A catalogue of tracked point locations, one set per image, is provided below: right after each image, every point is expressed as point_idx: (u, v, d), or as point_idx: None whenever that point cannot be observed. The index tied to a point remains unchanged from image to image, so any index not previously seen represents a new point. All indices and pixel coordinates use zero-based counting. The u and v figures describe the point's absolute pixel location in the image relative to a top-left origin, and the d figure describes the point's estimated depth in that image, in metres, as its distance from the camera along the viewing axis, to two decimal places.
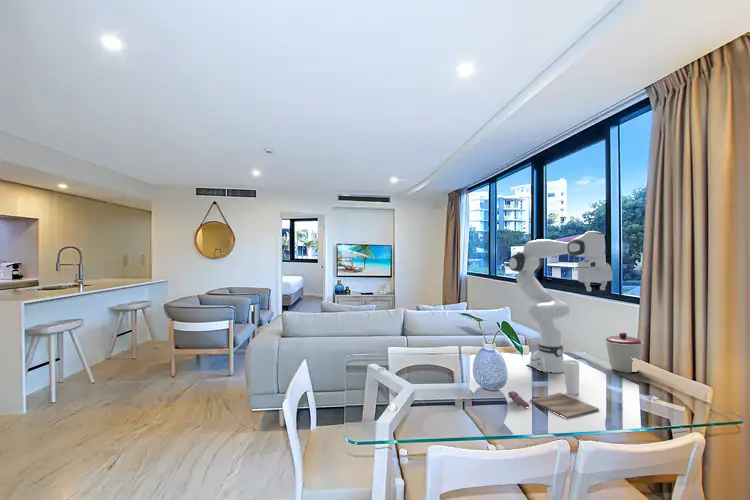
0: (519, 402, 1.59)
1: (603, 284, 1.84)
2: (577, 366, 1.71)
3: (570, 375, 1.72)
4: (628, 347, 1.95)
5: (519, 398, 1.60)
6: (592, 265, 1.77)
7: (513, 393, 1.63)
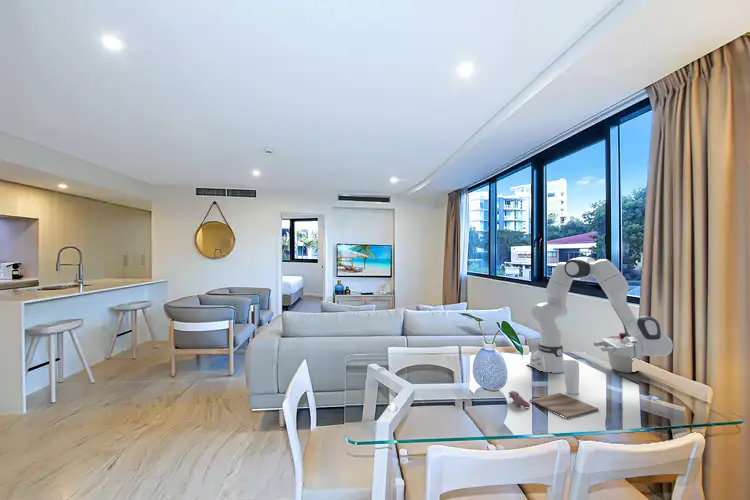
0: (520, 402, 1.59)
1: (600, 344, 1.76)
2: (577, 366, 1.71)
3: (570, 375, 1.72)
4: None
5: (520, 398, 1.60)
6: None
7: (514, 393, 1.63)
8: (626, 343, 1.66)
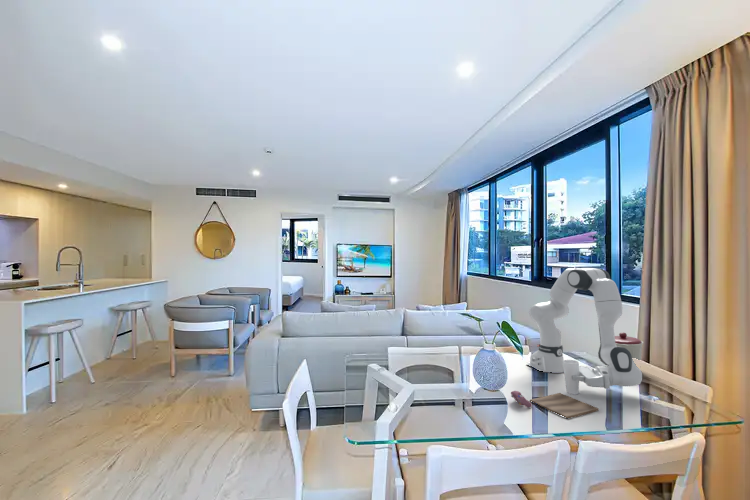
0: (522, 402, 1.59)
1: None
2: (577, 366, 1.71)
3: (570, 375, 1.72)
4: (628, 347, 1.95)
5: (522, 398, 1.60)
6: None
7: (516, 393, 1.63)
8: (596, 373, 1.68)
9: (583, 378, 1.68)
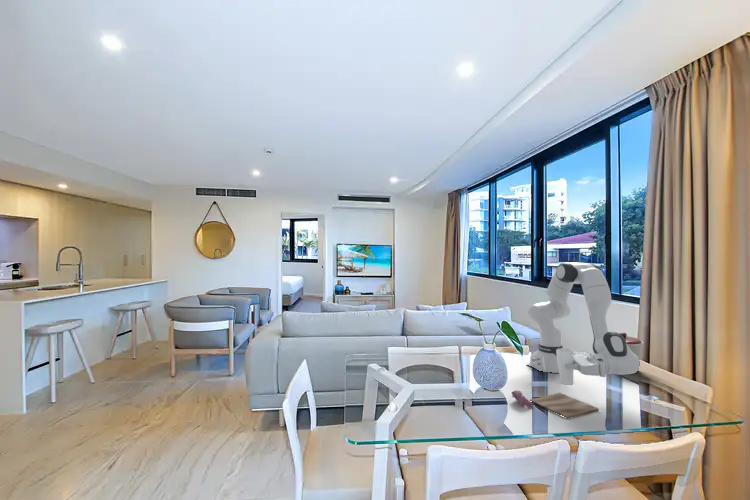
0: (523, 401, 1.59)
1: None
2: (571, 354, 1.61)
3: (564, 365, 1.61)
4: None
5: (523, 397, 1.60)
6: None
7: (517, 392, 1.63)
8: (592, 361, 1.58)
9: (577, 366, 1.58)
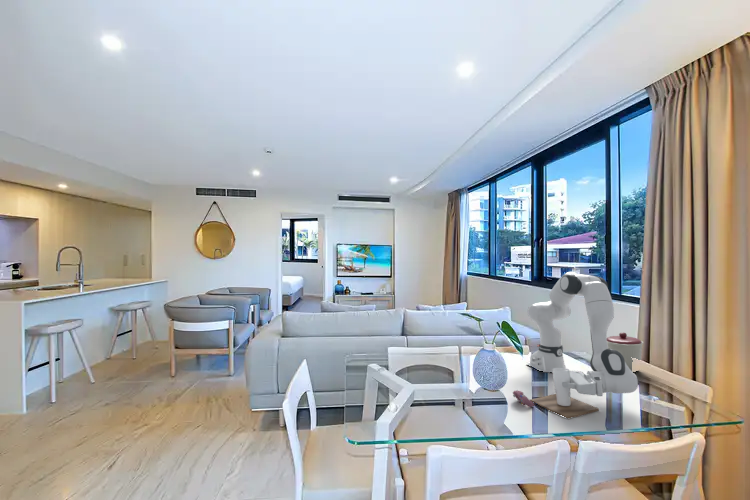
0: (524, 401, 1.60)
1: None
2: (568, 374, 1.57)
3: (561, 385, 1.57)
4: (628, 347, 1.95)
5: (524, 397, 1.60)
6: None
7: (518, 392, 1.64)
8: (588, 379, 1.54)
9: (574, 385, 1.53)
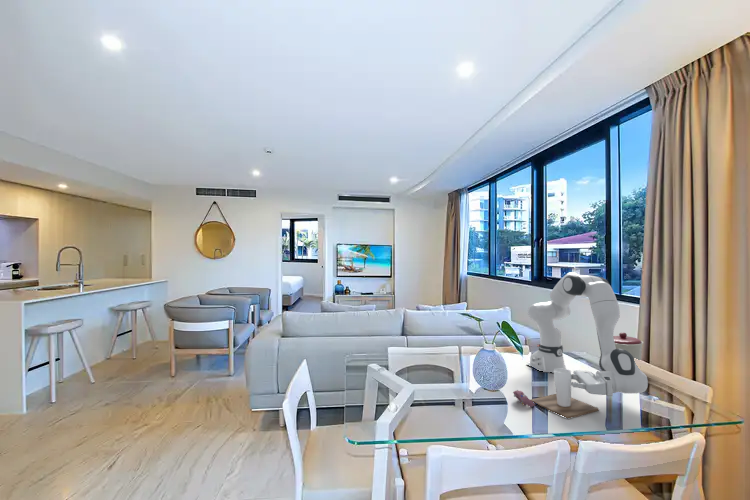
0: (525, 401, 1.60)
1: (571, 377, 1.64)
2: (569, 376, 1.56)
3: (562, 386, 1.56)
4: (628, 347, 1.95)
5: (525, 397, 1.60)
6: None
7: (519, 392, 1.64)
8: (598, 379, 1.54)
9: (584, 385, 1.52)
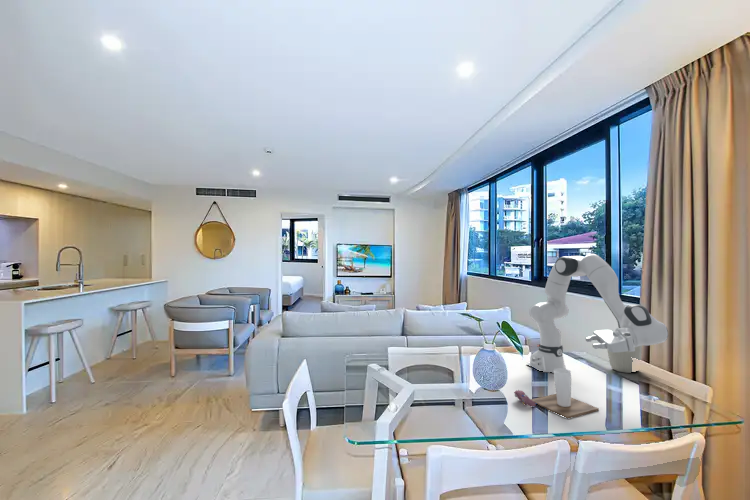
0: (526, 401, 1.60)
1: (592, 338, 1.65)
2: (569, 376, 1.56)
3: (562, 386, 1.56)
4: None
5: (526, 397, 1.60)
6: None
7: (520, 392, 1.64)
8: (618, 336, 1.55)
9: (605, 345, 1.54)
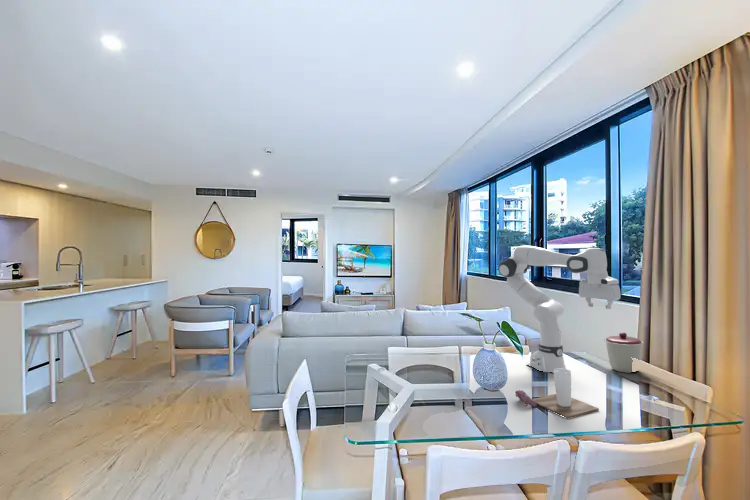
0: (527, 401, 1.60)
1: (589, 300, 1.86)
2: (569, 376, 1.56)
3: (562, 386, 1.56)
4: (628, 347, 1.95)
5: (527, 397, 1.61)
6: None
7: (520, 392, 1.64)
8: (602, 287, 1.77)
9: (610, 300, 1.75)
